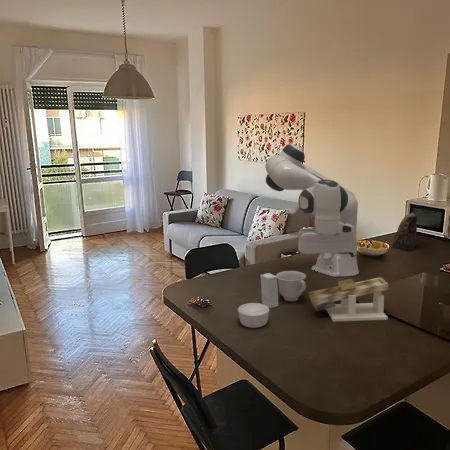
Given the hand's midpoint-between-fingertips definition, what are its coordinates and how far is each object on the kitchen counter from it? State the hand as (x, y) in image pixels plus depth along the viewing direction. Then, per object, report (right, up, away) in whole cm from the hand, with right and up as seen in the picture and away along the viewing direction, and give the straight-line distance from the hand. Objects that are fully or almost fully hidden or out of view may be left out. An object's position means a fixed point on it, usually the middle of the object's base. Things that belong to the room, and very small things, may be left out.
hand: (327, 264), depth 146 cm
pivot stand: (+11, -18, +3) cm, 21 cm away
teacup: (-9, -16, +18) cm, 26 cm away
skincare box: (-19, -17, +14) cm, 30 cm away
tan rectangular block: (+8, -10, +2) cm, 13 cm away
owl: (+66, +1, +88) cm, 110 cm away
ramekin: (-26, -21, -1) cm, 34 cm away
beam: (+9, -13, +2) cm, 16 cm away
